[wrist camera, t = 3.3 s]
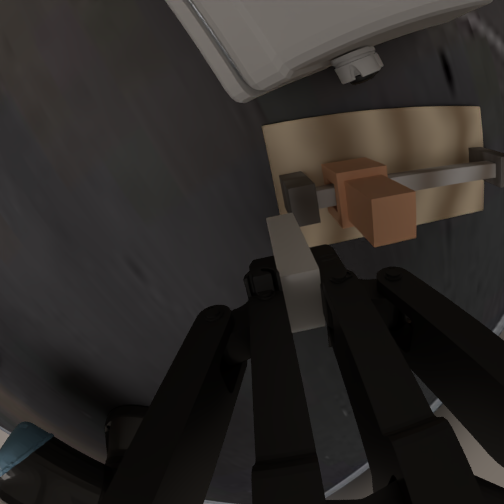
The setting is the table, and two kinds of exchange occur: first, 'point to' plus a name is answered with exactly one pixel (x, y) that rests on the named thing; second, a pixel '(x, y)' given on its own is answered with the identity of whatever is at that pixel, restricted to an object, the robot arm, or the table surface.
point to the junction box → (302, 36)
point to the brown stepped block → (371, 201)
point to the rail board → (386, 152)
